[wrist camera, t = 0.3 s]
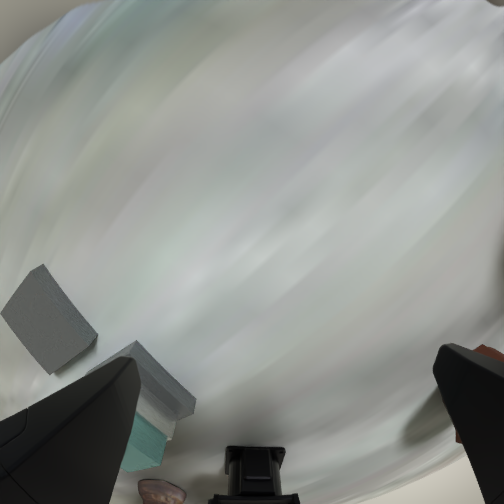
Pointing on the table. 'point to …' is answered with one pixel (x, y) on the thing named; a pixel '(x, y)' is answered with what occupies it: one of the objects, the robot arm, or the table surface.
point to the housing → (148, 433)
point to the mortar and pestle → (160, 492)
